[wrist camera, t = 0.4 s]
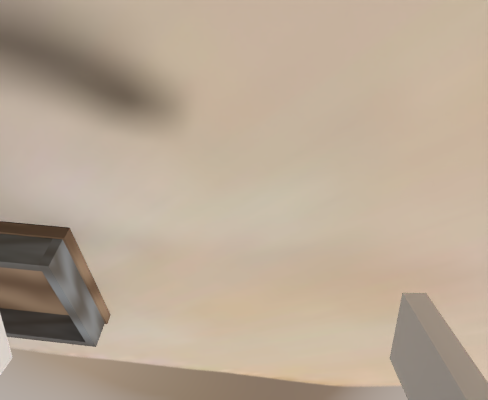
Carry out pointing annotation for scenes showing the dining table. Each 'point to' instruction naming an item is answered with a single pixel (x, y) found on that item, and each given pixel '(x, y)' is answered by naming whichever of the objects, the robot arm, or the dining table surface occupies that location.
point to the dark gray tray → (48, 287)
